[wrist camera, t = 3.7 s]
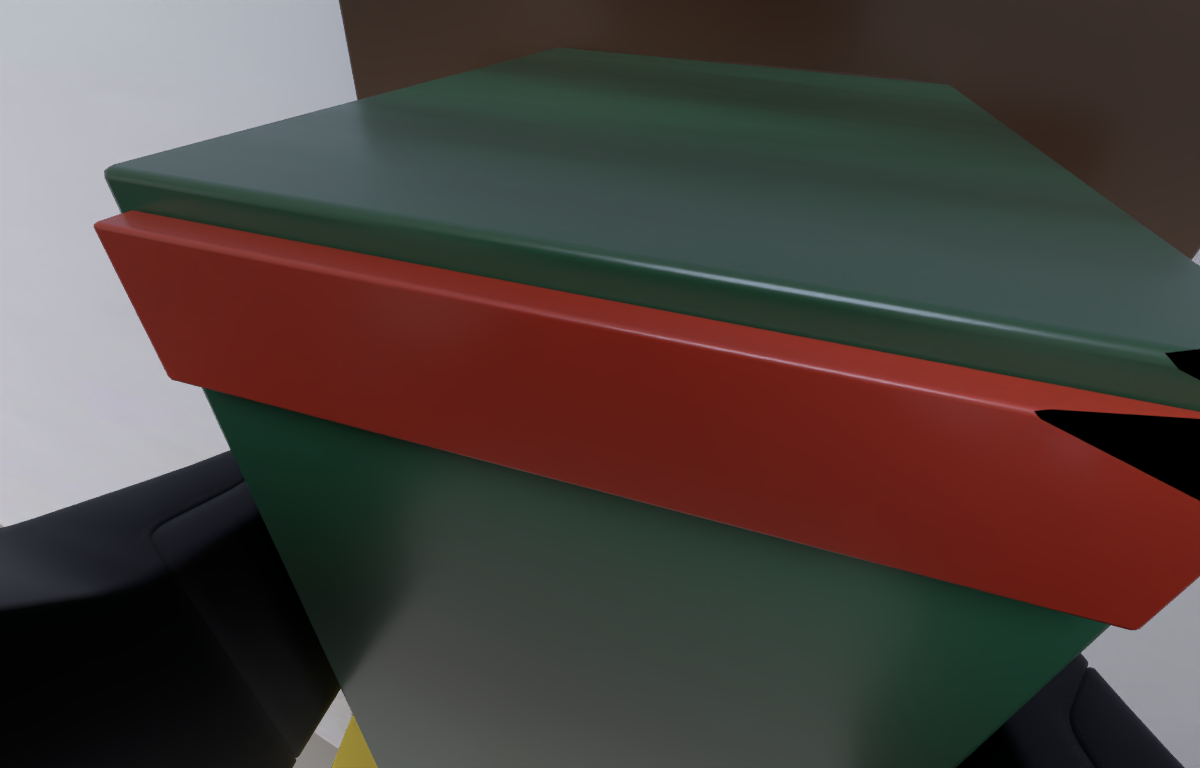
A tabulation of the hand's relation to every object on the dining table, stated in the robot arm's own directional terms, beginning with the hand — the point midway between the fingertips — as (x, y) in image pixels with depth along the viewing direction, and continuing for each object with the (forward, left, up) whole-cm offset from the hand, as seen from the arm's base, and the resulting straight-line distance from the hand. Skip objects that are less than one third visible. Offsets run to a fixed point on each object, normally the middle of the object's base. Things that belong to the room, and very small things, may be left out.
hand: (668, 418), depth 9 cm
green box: (0, 0, -2) cm, 2 cm away
